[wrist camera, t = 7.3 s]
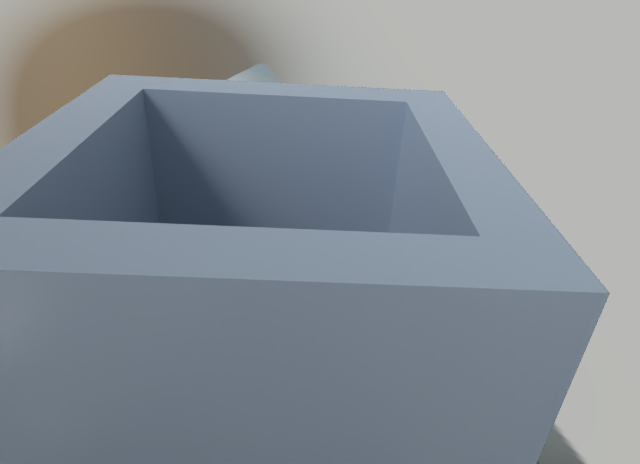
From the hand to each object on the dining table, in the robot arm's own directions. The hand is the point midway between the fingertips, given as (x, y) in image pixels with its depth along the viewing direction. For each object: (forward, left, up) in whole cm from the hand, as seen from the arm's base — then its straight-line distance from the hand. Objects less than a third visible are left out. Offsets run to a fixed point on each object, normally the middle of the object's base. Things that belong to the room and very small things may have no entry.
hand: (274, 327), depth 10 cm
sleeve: (+2, -2, -7) cm, 7 cm away
